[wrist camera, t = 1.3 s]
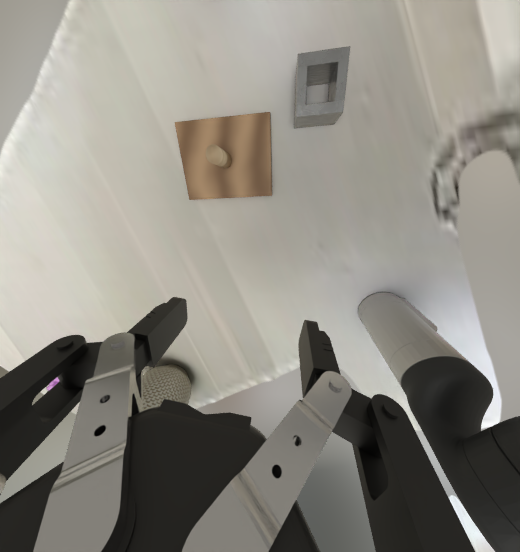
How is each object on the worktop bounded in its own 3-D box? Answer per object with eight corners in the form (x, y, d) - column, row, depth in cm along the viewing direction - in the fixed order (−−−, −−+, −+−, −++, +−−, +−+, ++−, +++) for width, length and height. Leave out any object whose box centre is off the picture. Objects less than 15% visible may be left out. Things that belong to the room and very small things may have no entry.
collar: (338, 71, 27) (350, 46, 22) (333, 124, 29) (343, 112, 25) (295, 76, 27) (297, 53, 23) (294, 128, 30) (296, 116, 25)
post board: (270, 114, 29) (266, 93, 23) (271, 195, 34) (269, 196, 28) (177, 124, 32) (151, 107, 25) (191, 199, 36) (172, 201, 30)
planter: (209, 373, 58) (185, 433, 44) (185, 396, 65) (157, 455, 50) (162, 345, 55) (119, 399, 41) (142, 372, 62) (99, 427, 48)
